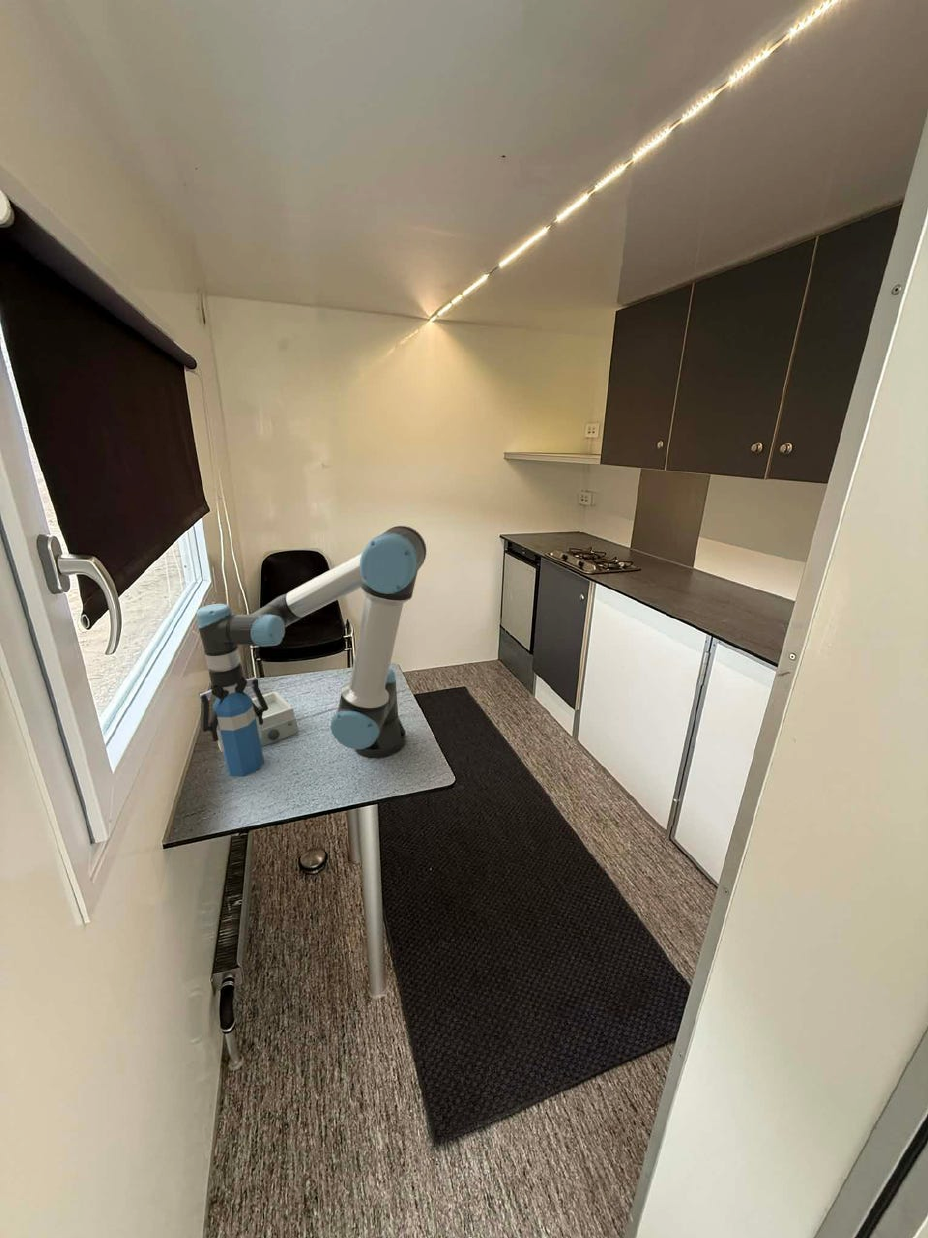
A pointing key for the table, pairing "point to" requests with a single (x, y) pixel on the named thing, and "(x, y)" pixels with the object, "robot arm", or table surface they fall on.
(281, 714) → the open storage box
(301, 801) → the table surface
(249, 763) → the water bottle
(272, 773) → the table surface
